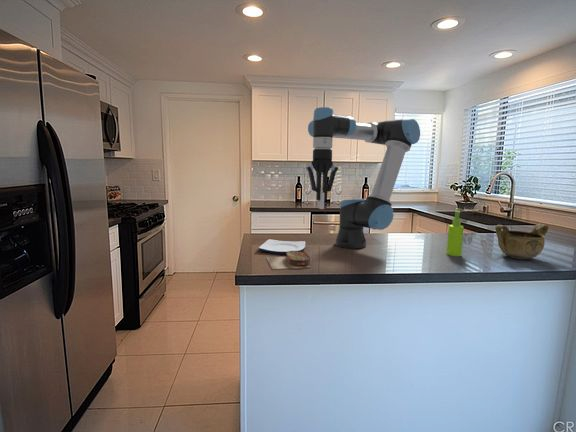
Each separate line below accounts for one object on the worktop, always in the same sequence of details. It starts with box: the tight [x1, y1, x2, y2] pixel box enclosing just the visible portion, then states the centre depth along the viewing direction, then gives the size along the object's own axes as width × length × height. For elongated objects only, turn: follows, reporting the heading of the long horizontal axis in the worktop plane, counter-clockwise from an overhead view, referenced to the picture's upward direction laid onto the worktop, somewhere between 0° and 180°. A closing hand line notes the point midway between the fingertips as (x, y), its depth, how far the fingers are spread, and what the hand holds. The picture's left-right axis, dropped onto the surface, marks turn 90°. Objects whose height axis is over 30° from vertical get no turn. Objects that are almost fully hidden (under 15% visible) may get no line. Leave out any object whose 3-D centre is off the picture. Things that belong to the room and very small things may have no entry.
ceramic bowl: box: [494, 223, 549, 260], centre depth 146 cm, size 22×17×15 cm
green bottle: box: [446, 209, 465, 257], centre depth 150 cm, size 6×7×20 cm
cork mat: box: [265, 256, 312, 271], centre depth 135 cm, size 15×16×1 cm
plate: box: [258, 238, 306, 255], centre depth 156 cm, size 20×20×3 cm
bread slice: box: [285, 250, 311, 266], centre depth 136 cm, size 15×3×8 cm
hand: (321, 208), depth 134 cm, fingers closed
